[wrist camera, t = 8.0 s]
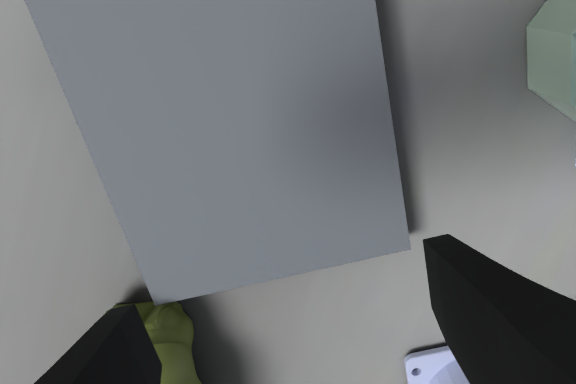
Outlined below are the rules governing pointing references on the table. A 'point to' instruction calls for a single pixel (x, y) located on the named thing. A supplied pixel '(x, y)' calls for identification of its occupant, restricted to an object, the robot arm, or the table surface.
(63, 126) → the table surface
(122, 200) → the mat
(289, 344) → the table surface
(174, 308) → the pear
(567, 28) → the bowl
